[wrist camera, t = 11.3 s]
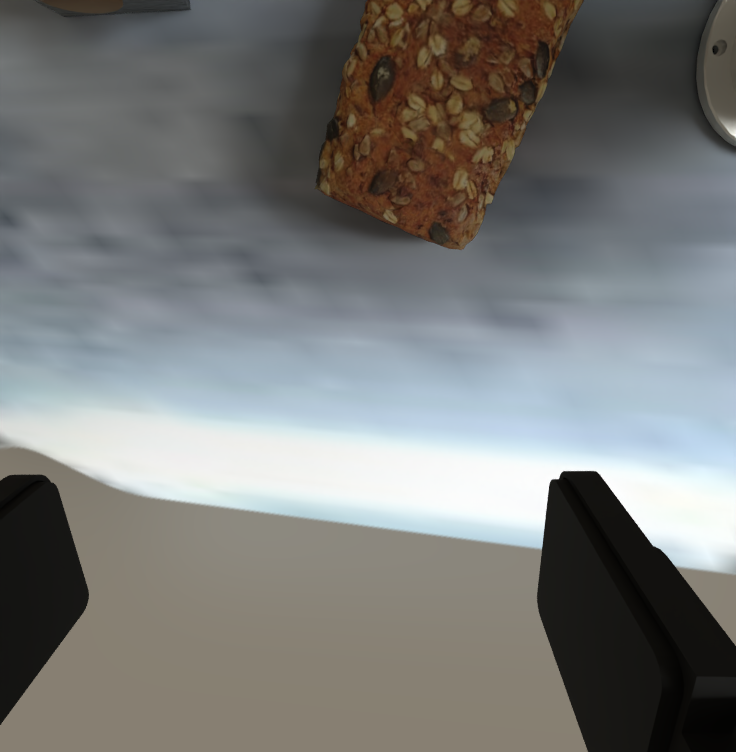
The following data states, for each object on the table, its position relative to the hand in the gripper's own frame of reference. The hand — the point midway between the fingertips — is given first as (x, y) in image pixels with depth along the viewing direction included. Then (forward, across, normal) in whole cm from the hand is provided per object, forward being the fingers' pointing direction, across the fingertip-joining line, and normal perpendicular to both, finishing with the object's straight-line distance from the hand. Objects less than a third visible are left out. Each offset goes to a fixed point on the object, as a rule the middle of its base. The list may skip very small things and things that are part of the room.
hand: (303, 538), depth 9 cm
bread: (+31, -5, -13) cm, 34 cm away
